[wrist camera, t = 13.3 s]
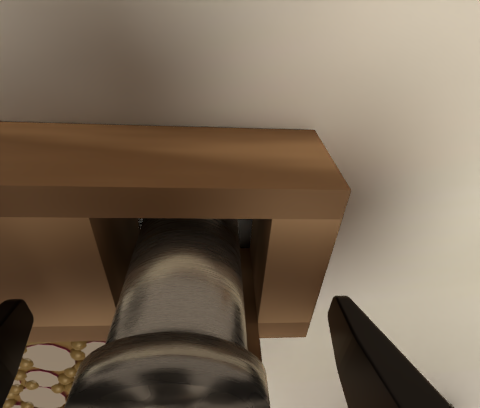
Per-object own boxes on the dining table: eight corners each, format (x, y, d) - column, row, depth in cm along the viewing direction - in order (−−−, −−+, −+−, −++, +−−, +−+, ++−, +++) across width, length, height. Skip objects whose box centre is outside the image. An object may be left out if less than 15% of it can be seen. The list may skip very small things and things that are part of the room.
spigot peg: (243, 242, 15) (262, 451, 8) (148, 243, 14) (91, 460, 8) (248, 158, 12) (281, 368, 6) (132, 157, 12) (29, 378, 5)
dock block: (288, 262, 16) (318, 390, 11) (16, 263, 15) (-83, 403, 10) (314, 130, 12) (383, 242, 7) (-60, 119, 11) (-295, 240, 6)
